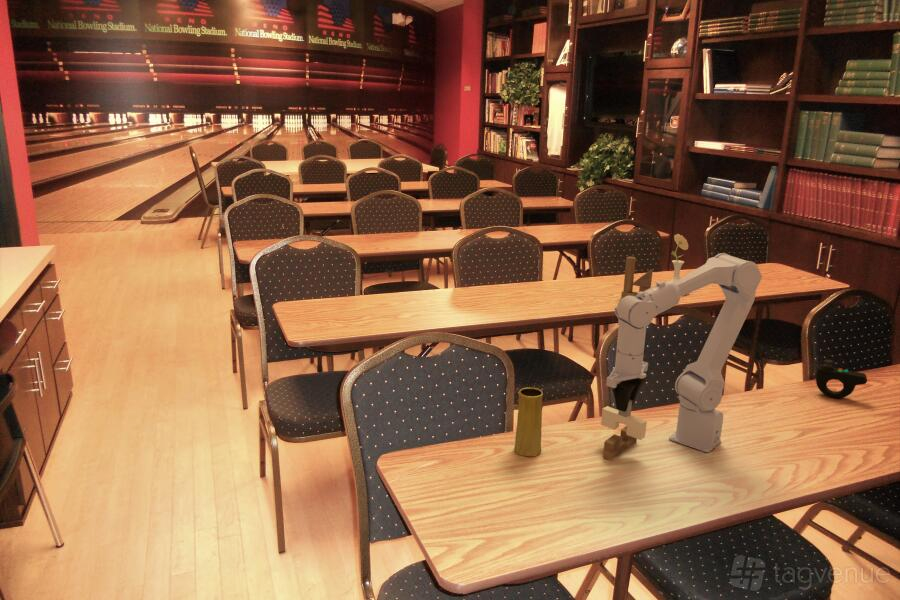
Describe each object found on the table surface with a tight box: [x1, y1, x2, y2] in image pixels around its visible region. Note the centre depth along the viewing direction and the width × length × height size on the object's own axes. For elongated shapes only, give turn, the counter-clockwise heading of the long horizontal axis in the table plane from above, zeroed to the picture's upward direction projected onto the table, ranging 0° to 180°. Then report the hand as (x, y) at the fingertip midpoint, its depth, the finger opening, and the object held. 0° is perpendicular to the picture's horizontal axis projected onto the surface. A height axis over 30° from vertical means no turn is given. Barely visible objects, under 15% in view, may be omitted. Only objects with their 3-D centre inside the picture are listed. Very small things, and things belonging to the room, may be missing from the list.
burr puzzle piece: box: [600, 399, 648, 441], centre depth 149 cm, size 10×2×8 cm, turn 46°
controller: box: [813, 359, 868, 399], centre depth 180 cm, size 4×12×10 cm, turn 58°
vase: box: [513, 387, 544, 458], centre depth 148 cm, size 6×6×14 cm
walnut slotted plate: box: [602, 425, 638, 461], centre depth 150 cm, size 12×2×4 cm, turn 138°
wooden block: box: [620, 256, 654, 300], centre depth 267 cm, size 4×11×18 cm, turn 54°
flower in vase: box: [668, 233, 689, 283], centre depth 282 cm, size 13×11×25 cm
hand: (624, 408), depth 148 cm, fingers closed on burr puzzle piece, 2 cm apart
